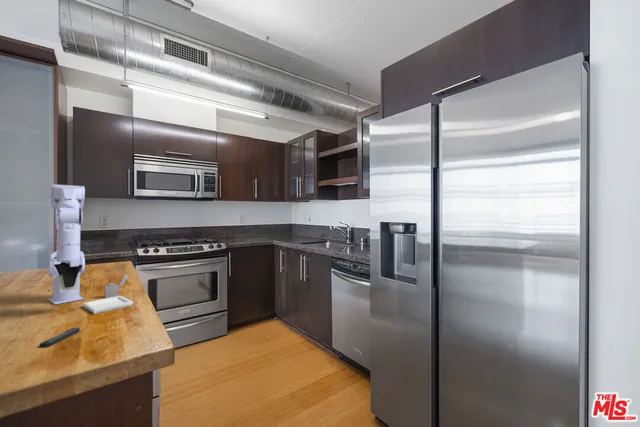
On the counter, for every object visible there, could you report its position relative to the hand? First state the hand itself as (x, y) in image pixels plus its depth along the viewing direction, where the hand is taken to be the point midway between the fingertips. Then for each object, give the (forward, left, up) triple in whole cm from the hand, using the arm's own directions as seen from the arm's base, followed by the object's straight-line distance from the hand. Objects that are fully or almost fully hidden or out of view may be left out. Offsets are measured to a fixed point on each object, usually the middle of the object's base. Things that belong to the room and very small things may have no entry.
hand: (67, 285), depth 91 cm
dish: (+4, +10, -8) cm, 14 cm away
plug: (0, 0, -1) cm, 1 cm away
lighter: (-7, +16, -9) cm, 19 cm away
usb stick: (+24, -6, -9) cm, 26 cm away
